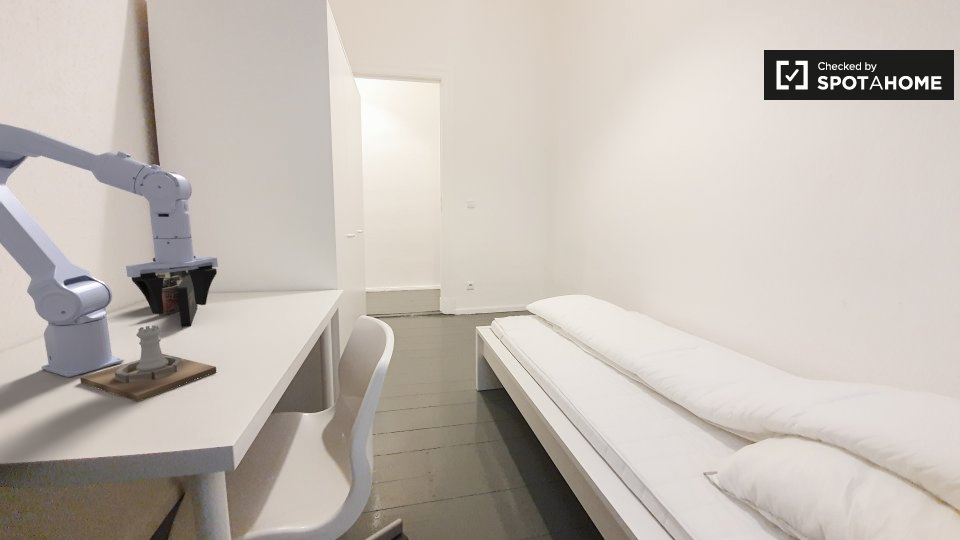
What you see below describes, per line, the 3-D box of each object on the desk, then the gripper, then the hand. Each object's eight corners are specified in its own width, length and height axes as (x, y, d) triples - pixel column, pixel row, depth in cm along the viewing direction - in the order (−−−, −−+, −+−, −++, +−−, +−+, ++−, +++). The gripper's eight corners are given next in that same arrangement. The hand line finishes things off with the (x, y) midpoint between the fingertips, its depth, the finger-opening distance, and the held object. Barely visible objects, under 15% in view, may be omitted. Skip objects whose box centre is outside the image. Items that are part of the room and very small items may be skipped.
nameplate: (190, 326, 97) (186, 287, 96) (181, 327, 96) (177, 287, 95) (197, 308, 115) (194, 274, 113) (189, 309, 114) (186, 275, 112)
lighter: (167, 316, 106) (163, 279, 104) (155, 316, 106) (151, 279, 104) (190, 308, 114) (186, 274, 112) (178, 308, 114) (174, 274, 112)
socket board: (80, 382, 66) (79, 370, 65) (161, 358, 76) (160, 347, 76) (137, 401, 59) (135, 388, 59) (216, 372, 70) (215, 360, 70)
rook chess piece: (151, 379, 65) (145, 332, 64) (129, 376, 66) (123, 330, 65) (176, 368, 69) (171, 324, 68) (155, 366, 70) (150, 323, 69)
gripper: (139, 241, 65) (149, 320, 67) (225, 236, 78) (231, 302, 80) (115, 239, 68) (125, 316, 70) (202, 235, 81) (208, 299, 83)
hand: (180, 308), depth 75 cm, fingers open, 7 cm apart
